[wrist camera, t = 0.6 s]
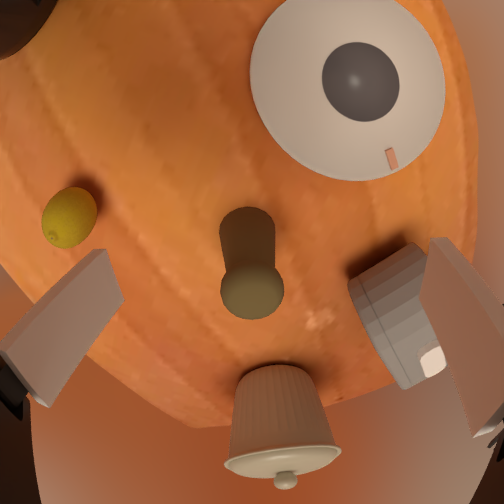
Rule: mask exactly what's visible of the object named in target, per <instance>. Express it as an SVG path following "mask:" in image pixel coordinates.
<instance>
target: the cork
mask: <svg viewBox="0 0 504 504" xmlns="http://www.w3.org/2000/svg"><path fill="white" fill-rule="evenodd" d="M219 235H220V240H221V246H222V251H223V257H224V262H225V268H226V273H225V275H224V277H223V279H222V282H221V290H220V293H221V297H222V300H223V303H224V305H225V306H226V308H227V309H228V310H229V311H230V312H231V313H232V314H234V315H235V316H237V317H240V318H243V319H251V320H254V319H261V318H264V317H266V316H269V315H270V314H272V313H273V312H274V311H275V310H276V309H277V308H278V307H279V305H280V304H281V302H282V299H283V296H284V284H283V280H282V278H281V276H280V274H279V272H278V271H277V269H276V268H275V225H274V222H273V220H272V219H271V217H270V216H269V215H268V214H267V213H266V212H264V211H262V210H260V209H258V208H253V207H243V208H238V209H236V210H233V211H231V212H230V213H229V214H228V215H227V216H225V217H224V219H223V221H222V222H221V224H220V230H219Z"/></svg>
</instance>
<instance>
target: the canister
mask: <svg viewBox="0 0 504 504" xmlns="http://www.w3.org/2000/svg"><path fill="white" fill-rule="evenodd" d="M340 453H341V448H340V447H339V446H337V445H336V444H335V442H334V438H333V435H332V432H331V429H330V426H329V423H328V420H327V417H326V414H325V411H324V409H323V406H322V403H321V400H320V398H319V395H318V392H317V390H316V387H315V385H314V383H313V381H312V379H311V377H310V376H309V375H308V374H307V373H306V372H305V371H303V370H302V369H300V368H298V367H294V366H289V365H270V366H265V367H260V368H259V369H255V370H254V371H251V372H250V373H247V374H246V375H245V376H244V377H243V378H242V379H241V380H240V382H239V384H238V386H237V388H236V393H235V400H234V408H233V416H232V426H231V436H230V447H229V458H228V459H227V460H226V461H225V462H224V466H225V467H226V468H227V469H229V470H232V471H233V472H235V473H237V474H239V475H242V476H246V477H253V478H274V485H275V486H276V487H277V488H279V489H289V488H292V487H294V486H295V485H296V484H297V477H296V475H299V474H303V473H307V472H311V471H314V470H317V469H319V468H322V467H324V466H326V465H328V464H329V463H331V462H332V461H333V459H334V458H336V457H337V456H338V455H339V454H340Z"/></svg>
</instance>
